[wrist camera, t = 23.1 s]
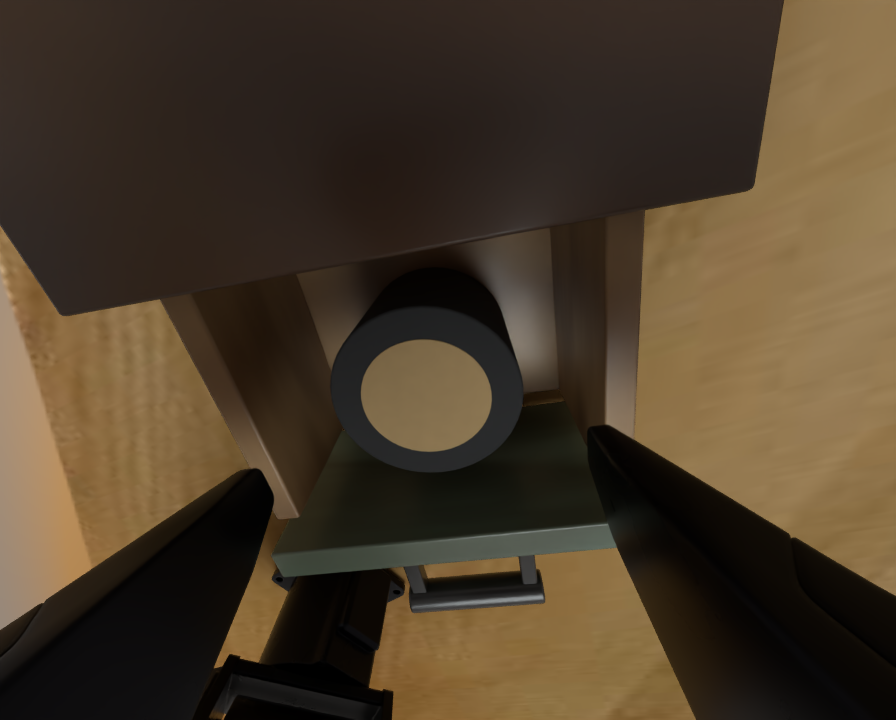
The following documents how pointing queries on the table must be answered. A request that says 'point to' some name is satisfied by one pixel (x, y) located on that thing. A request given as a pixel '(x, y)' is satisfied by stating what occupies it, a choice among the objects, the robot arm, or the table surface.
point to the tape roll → (429, 374)
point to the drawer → (437, 493)
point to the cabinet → (354, 129)
